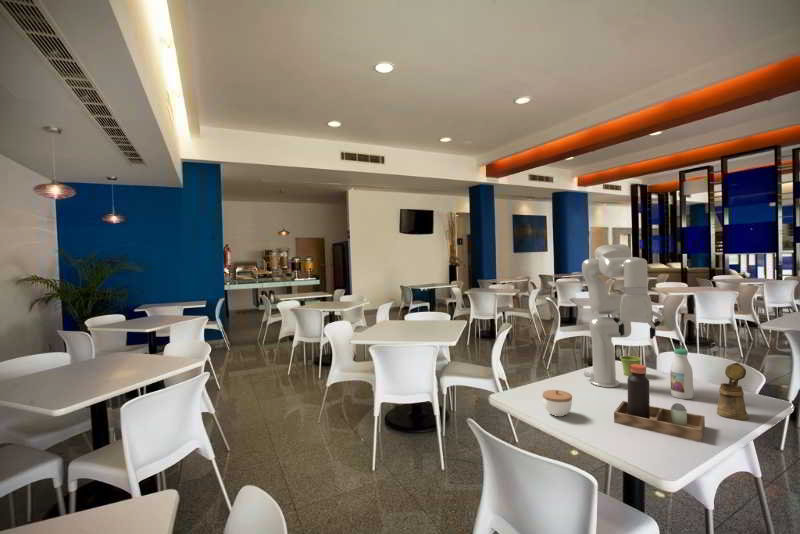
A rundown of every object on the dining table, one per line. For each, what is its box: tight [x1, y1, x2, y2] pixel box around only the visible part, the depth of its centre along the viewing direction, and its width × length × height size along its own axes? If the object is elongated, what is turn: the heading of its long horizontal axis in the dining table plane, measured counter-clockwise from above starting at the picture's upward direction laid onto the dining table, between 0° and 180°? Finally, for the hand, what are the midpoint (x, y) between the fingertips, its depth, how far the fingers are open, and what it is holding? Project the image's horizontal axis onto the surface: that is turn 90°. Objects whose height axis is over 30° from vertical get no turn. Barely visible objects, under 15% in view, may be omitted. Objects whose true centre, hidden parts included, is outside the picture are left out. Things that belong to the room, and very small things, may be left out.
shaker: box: [670, 402, 688, 427], centre depth 133 cm, size 4×4×9 cm
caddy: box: [613, 400, 706, 443], centre depth 137 cm, size 25×14×4 cm, turn 48°
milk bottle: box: [669, 348, 694, 400], centre depth 164 cm, size 8×8×20 cm
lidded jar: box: [542, 389, 573, 417], centre depth 151 cm, size 11×11×9 cm
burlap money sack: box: [716, 362, 749, 421], centre depth 145 cm, size 9×14×18 cm, turn 127°
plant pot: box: [619, 355, 642, 377], centre depth 195 cm, size 9×9×9 cm
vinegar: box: [627, 364, 651, 419], centre depth 141 cm, size 7×7×20 cm
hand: (636, 336), depth 145 cm, fingers open, 9 cm apart
